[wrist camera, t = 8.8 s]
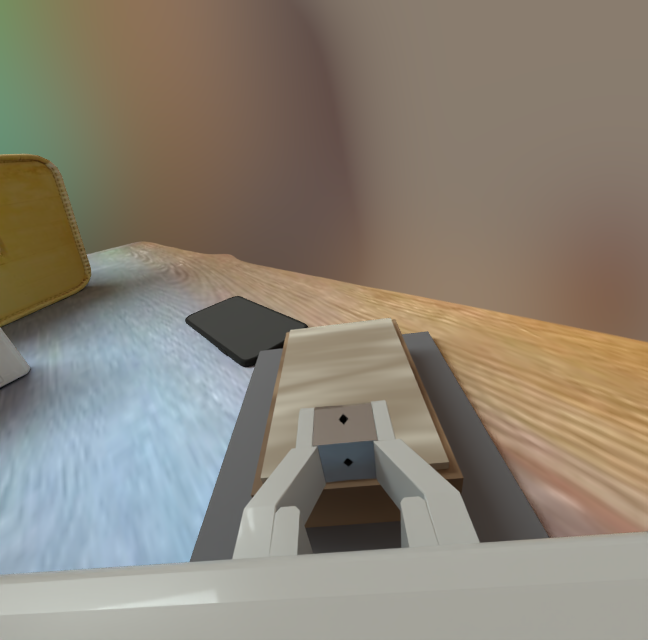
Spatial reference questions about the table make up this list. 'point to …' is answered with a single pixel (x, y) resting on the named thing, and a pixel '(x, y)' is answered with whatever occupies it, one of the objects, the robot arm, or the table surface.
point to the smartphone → (243, 328)
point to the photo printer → (10, 361)
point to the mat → (477, 493)
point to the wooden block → (348, 388)
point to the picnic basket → (36, 238)
